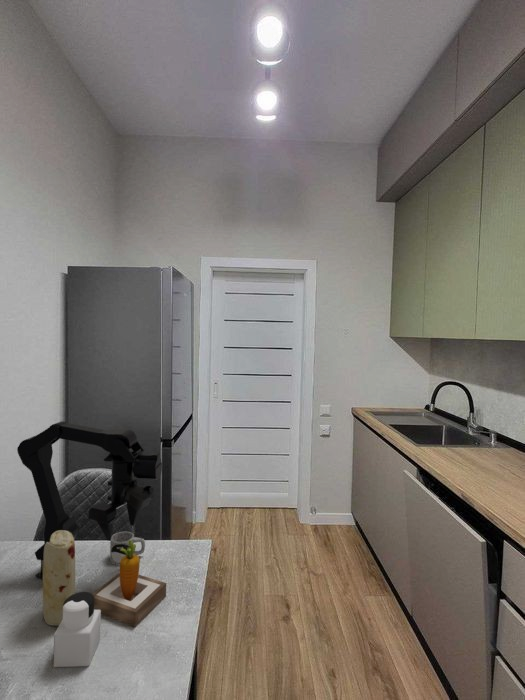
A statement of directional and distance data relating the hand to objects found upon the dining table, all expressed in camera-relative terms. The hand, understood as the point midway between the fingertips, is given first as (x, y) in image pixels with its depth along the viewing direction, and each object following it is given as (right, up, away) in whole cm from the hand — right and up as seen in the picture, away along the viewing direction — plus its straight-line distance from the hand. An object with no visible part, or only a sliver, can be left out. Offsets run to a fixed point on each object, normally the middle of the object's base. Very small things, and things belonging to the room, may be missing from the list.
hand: (121, 532), depth 109 cm
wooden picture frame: (+5, -14, -9) cm, 17 cm away
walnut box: (+5, -14, -9) cm, 17 cm away
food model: (-9, -13, -15) cm, 22 cm away
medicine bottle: (0, -14, -26) cm, 29 cm away
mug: (-2, -13, +11) cm, 17 cm away
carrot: (+5, -13, -9) cm, 17 cm away
